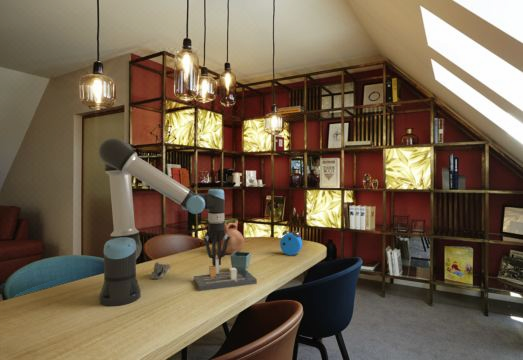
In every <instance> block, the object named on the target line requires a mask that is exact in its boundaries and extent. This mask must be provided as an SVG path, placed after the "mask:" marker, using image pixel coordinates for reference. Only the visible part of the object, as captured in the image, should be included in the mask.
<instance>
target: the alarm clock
mask: <svg viewBox="0 0 523 360" xmlns="http://www.w3.org/2000/svg"><path fill="white" fill-rule="evenodd" d="M281 234H282V237H281V238H280V242H279V246H280V250H281V251H282V252H283V253H284V254H285V255H288V256H295V255H298V253H299V252H301V250H302V248H303V241H302V237H301V234H300V232H299V231H297V230H293V232H290V231H289V230H284V231H282V233H281Z"/></svg>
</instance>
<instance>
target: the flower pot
mask: <svg viewBox="0 0 523 360" xmlns="http://www.w3.org/2000/svg"><path fill="white" fill-rule="evenodd" d="M251 254H252V253H251V252H249V251H248V252H246V251H240V252H234V253H233V254H232V255H230V257H229V258H230V264H231V268H236V269H237V271H244V270H247V271H248V268H249V265H250V261H251Z"/></svg>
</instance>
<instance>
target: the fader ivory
mask: <svg viewBox="0 0 523 360" xmlns="http://www.w3.org/2000/svg"><path fill="white" fill-rule="evenodd" d="M228 269H229V272H230V279H237V269H236V268H232V267H229V268H228Z"/></svg>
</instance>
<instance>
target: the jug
mask: <svg viewBox="0 0 523 360" xmlns="http://www.w3.org/2000/svg"><path fill="white" fill-rule="evenodd" d="M224 223H225V233H226V235H227V236H230V239H229V241H228V244H227V249H226V253H225V256H226V255H228V256H229V255H232V254H233V253H234V252H241V250H242V249H243V248H244V247H243V246H244V244H245V239H244V238H245V237H244V236H243V234H242V233H241V232H240V231H239V230H238V223H239V221H238V220H235V221H234V222H229V223H227V222H224ZM231 226H232V228H230V227H231ZM224 238H225V237H224ZM224 238H223V239H222V241H221V253H222V248H223V244H224V240H225V239H224ZM216 247H217V242H216Z"/></svg>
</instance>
